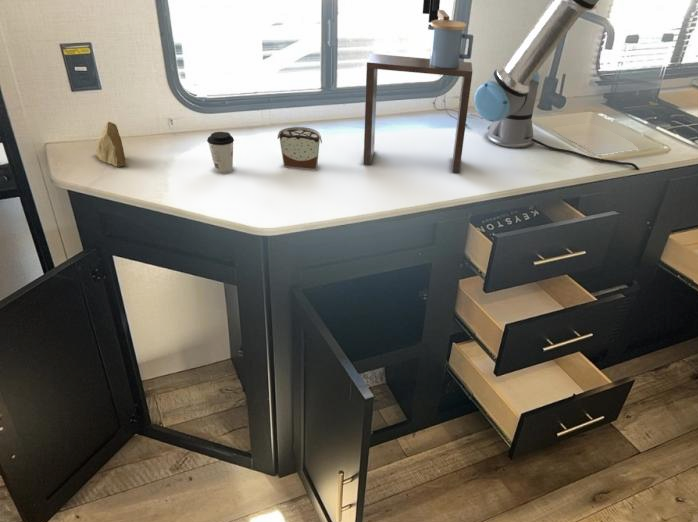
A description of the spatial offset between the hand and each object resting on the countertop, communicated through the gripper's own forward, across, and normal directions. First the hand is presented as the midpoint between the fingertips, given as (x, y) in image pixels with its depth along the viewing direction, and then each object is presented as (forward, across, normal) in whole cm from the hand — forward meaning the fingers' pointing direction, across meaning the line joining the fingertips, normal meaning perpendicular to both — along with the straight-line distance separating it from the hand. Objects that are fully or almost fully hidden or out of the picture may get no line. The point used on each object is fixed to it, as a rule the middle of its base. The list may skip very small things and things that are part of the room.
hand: (429, 18), depth 183 cm
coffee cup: (+35, +37, -59) cm, 78 cm away
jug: (+6, +30, 0) cm, 30 cm away
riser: (+35, +28, -6) cm, 45 cm away
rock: (+35, +33, -90) cm, 102 cm away
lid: (-3, +25, 0) cm, 25 cm away
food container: (+35, +32, -38) cm, 61 cm away
